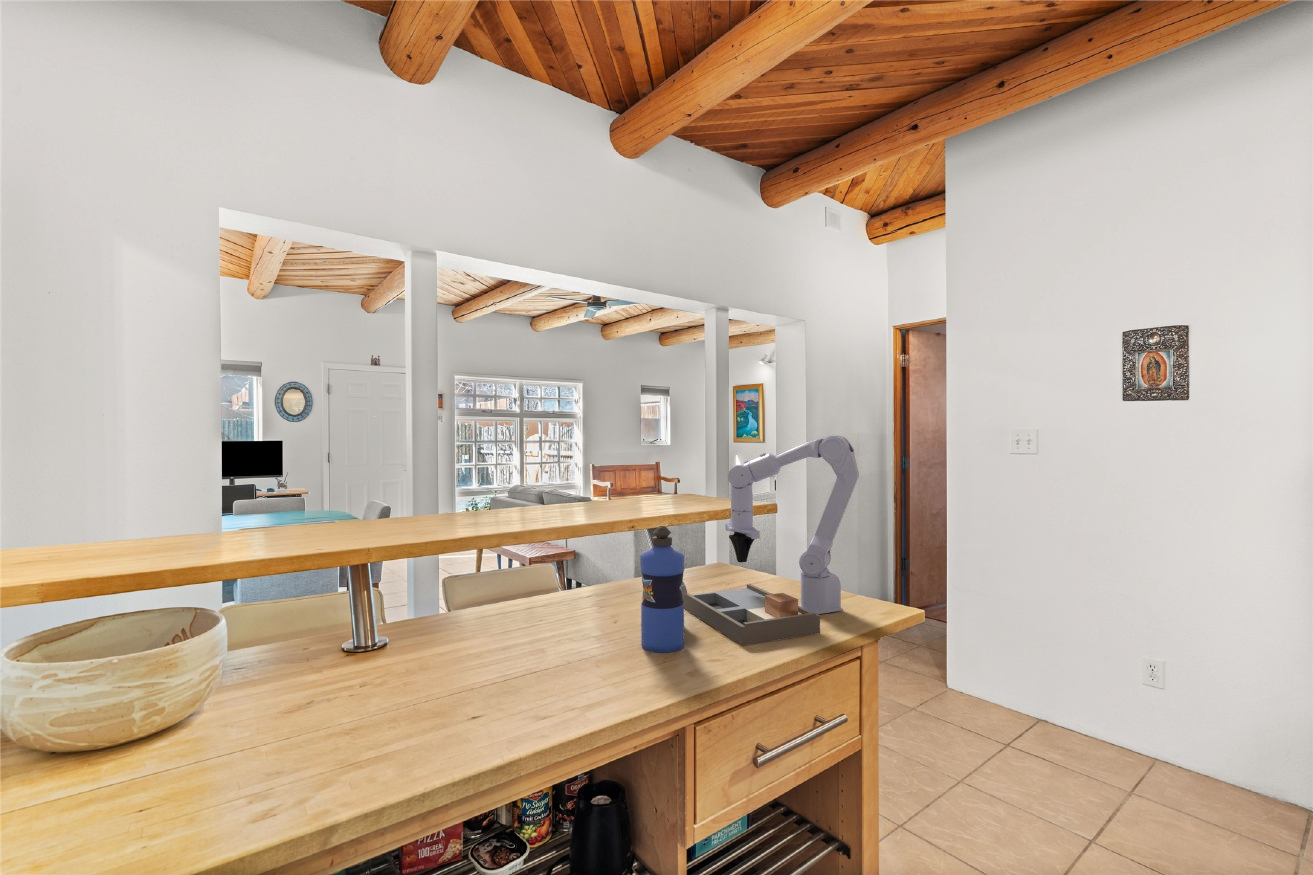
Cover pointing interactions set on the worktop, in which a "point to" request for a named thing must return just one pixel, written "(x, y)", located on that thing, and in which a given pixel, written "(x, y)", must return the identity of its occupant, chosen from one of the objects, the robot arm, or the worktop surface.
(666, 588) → the water bottle
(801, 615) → the box
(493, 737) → the worktop surface
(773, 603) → the block
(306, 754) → the worktop surface
